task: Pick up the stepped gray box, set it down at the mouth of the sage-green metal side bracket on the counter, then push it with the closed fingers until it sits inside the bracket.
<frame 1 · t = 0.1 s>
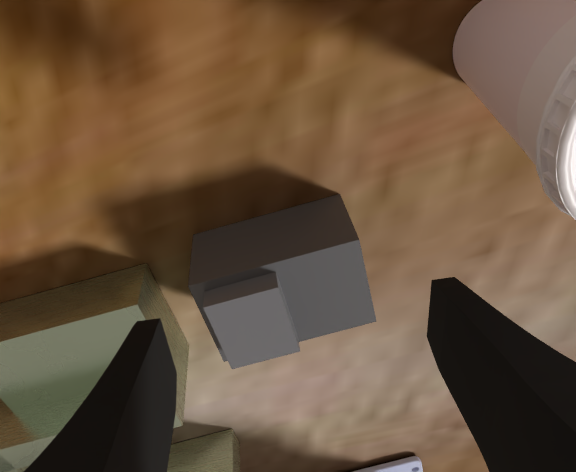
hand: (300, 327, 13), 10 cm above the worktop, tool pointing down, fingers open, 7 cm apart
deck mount: (146, 407, 29), on the worktop
smoothie: (495, 41, 20), on the worktop
stepped gray box: (278, 251, 24), on the worktop
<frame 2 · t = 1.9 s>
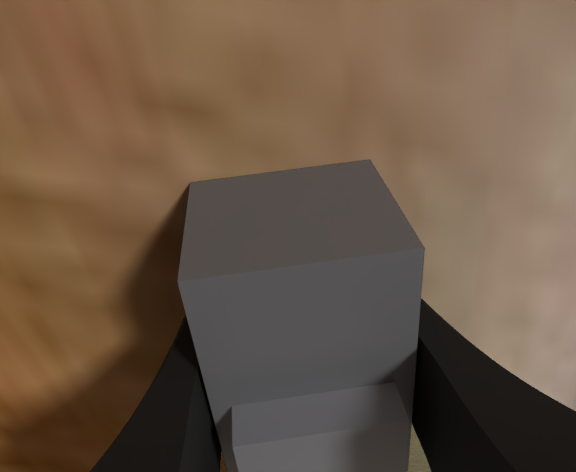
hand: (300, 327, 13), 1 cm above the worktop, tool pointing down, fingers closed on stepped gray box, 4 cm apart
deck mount: (509, 457, 20), on the worktop
stepped gray box: (292, 282, 14), on the worktop, touching gripper
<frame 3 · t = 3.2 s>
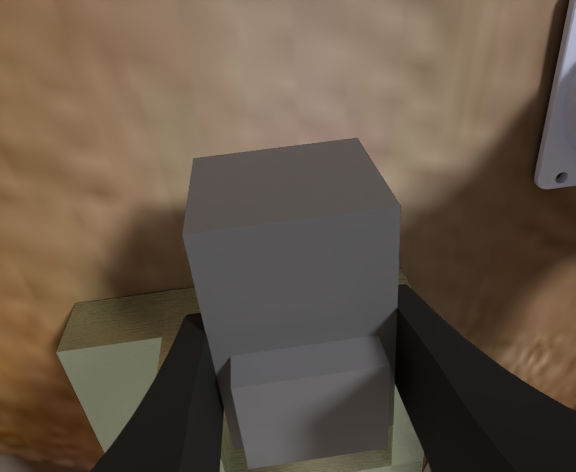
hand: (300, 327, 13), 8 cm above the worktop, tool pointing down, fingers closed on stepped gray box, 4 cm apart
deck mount: (291, 338, 25), on the worktop
stepped gray box: (287, 254, 15), point 6 cm above the worktop, touching gripper
when the fingers open (3 cm above the worktop, at t = 4.6 s): stepped gray box stays where it is, on the worktop.
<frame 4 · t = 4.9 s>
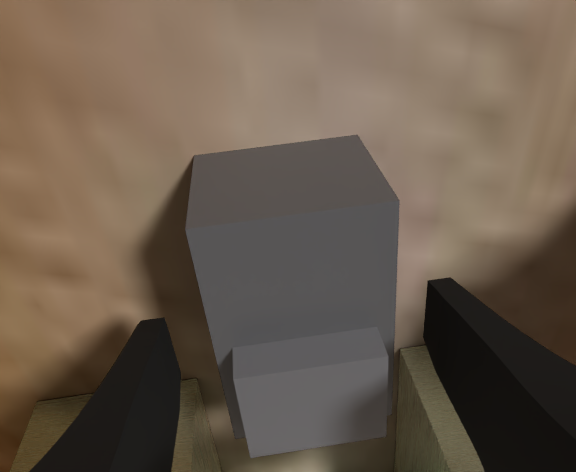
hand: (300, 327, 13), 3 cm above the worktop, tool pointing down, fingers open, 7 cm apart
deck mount: (306, 431, 20), on the worktop
stepped gray box: (287, 247, 16), on the worktop
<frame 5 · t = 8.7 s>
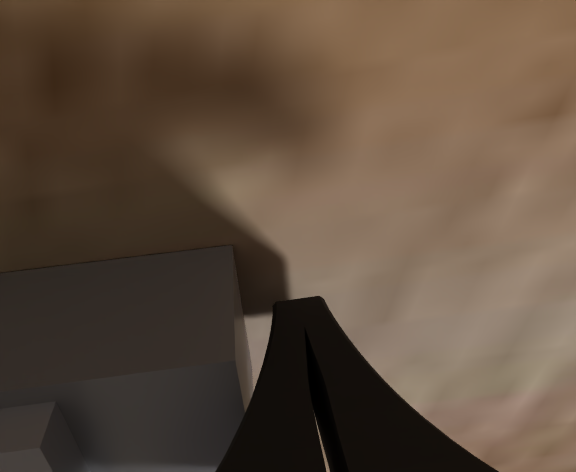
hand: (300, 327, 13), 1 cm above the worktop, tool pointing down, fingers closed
stepped gray box: (117, 327, 14), on the worktop, touching gripper
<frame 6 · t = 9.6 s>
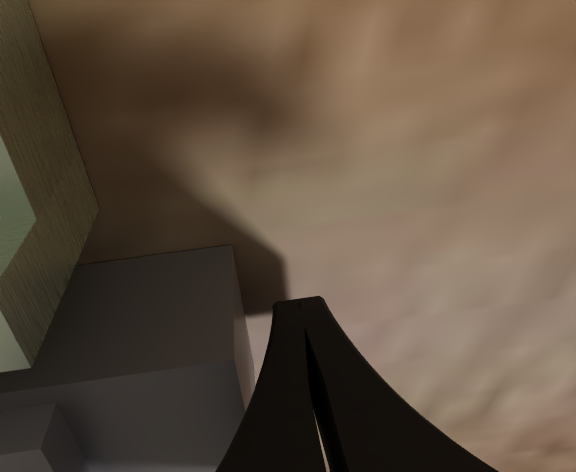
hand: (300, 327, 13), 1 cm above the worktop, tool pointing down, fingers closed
stepped gray box: (119, 328, 14), on the worktop, touching gripper
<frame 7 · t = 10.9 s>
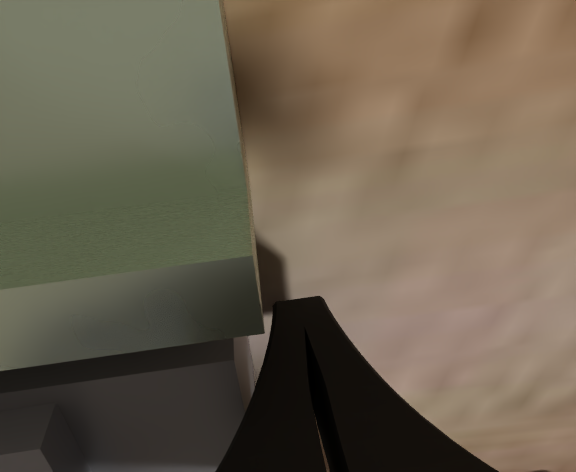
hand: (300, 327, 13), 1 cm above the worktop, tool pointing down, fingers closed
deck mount: (125, 326, 14), on the worktop
stepped gray box: (118, 328, 14), on the worktop, touching gripper
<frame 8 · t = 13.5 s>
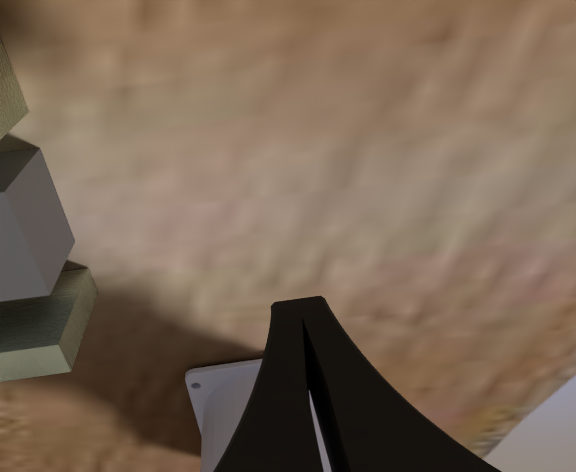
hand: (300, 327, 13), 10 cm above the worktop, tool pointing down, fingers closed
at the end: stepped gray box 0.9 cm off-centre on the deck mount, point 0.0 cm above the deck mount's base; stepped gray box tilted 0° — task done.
